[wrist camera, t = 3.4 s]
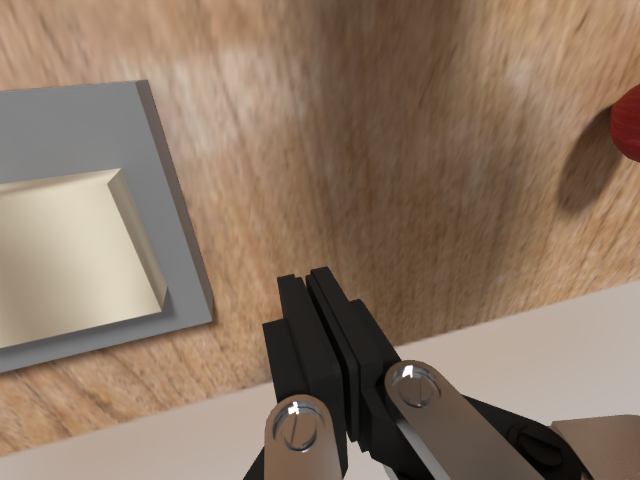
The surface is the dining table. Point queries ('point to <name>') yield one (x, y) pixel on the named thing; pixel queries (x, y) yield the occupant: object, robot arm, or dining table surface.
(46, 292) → the birch tile
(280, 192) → the dining table surface
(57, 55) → the dining table surface
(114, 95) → the grey flat slab
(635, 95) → the onion
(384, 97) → the dining table surface
